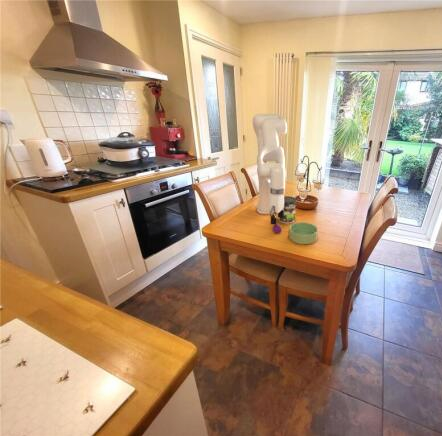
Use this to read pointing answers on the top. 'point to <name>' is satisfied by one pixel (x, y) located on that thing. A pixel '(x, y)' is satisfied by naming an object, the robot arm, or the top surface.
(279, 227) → the ball
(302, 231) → the bowl
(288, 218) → the coffee can
